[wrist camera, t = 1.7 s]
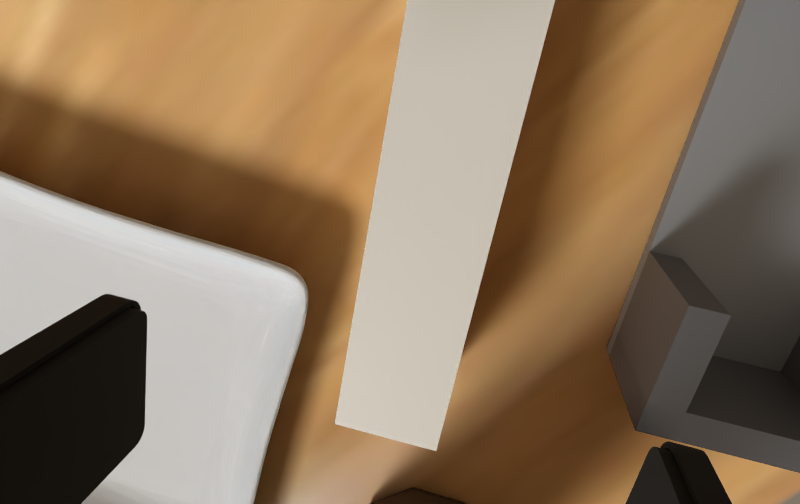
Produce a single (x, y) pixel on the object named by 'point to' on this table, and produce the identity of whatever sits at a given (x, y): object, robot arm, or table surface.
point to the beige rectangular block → (436, 207)
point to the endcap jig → (726, 261)
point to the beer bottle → (416, 498)
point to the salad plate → (163, 336)
